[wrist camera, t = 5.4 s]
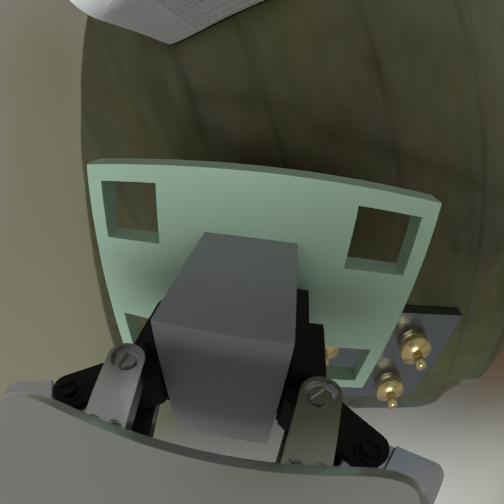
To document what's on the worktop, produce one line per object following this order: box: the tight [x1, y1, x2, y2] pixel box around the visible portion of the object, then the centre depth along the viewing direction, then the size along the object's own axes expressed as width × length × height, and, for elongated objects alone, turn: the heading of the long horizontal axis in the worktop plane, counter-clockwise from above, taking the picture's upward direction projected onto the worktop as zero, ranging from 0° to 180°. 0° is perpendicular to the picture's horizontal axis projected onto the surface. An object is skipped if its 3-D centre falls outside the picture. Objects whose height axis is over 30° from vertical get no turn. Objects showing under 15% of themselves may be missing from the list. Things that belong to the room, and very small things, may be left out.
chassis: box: [325, 305, 462, 408], centre depth 27 cm, size 20×14×5 cm
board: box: [87, 158, 442, 443], centre depth 11 cm, size 14×11×6 cm
